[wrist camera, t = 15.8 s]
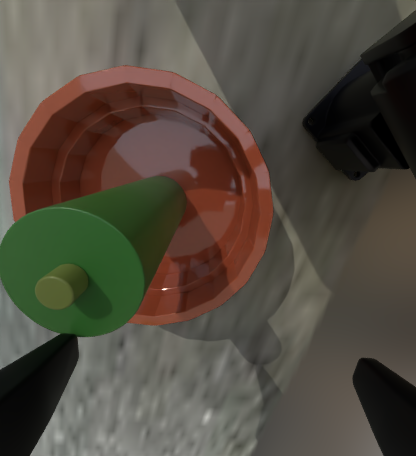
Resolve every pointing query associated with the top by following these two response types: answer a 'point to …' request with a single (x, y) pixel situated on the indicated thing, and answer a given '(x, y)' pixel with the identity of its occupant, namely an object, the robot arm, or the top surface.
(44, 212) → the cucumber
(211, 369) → the top surface
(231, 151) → the pot
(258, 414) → the top surface
